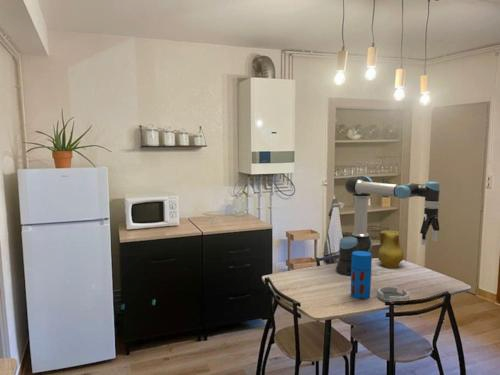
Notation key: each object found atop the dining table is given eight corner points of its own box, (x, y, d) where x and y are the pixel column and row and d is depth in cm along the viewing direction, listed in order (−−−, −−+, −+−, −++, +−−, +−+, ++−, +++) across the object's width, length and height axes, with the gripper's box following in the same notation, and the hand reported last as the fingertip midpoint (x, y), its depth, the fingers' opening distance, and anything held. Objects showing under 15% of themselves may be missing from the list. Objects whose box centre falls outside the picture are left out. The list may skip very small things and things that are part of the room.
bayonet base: (371, 297, 219) (371, 291, 218) (387, 290, 230) (387, 284, 229) (399, 307, 206) (399, 300, 205) (415, 299, 217) (415, 292, 216)
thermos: (371, 300, 215) (372, 256, 212) (351, 299, 217) (352, 255, 214) (369, 293, 225) (370, 251, 223) (350, 291, 227) (351, 250, 225)
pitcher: (379, 268, 270) (381, 232, 268) (375, 261, 288) (377, 228, 286) (405, 270, 267) (407, 234, 265) (399, 263, 285) (401, 230, 284)
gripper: (428, 210, 218) (426, 247, 220) (446, 206, 234) (444, 240, 237) (415, 209, 224) (413, 245, 226) (434, 204, 240) (432, 238, 242)
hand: (429, 242), depth 231 cm, fingers open, 13 cm apart
